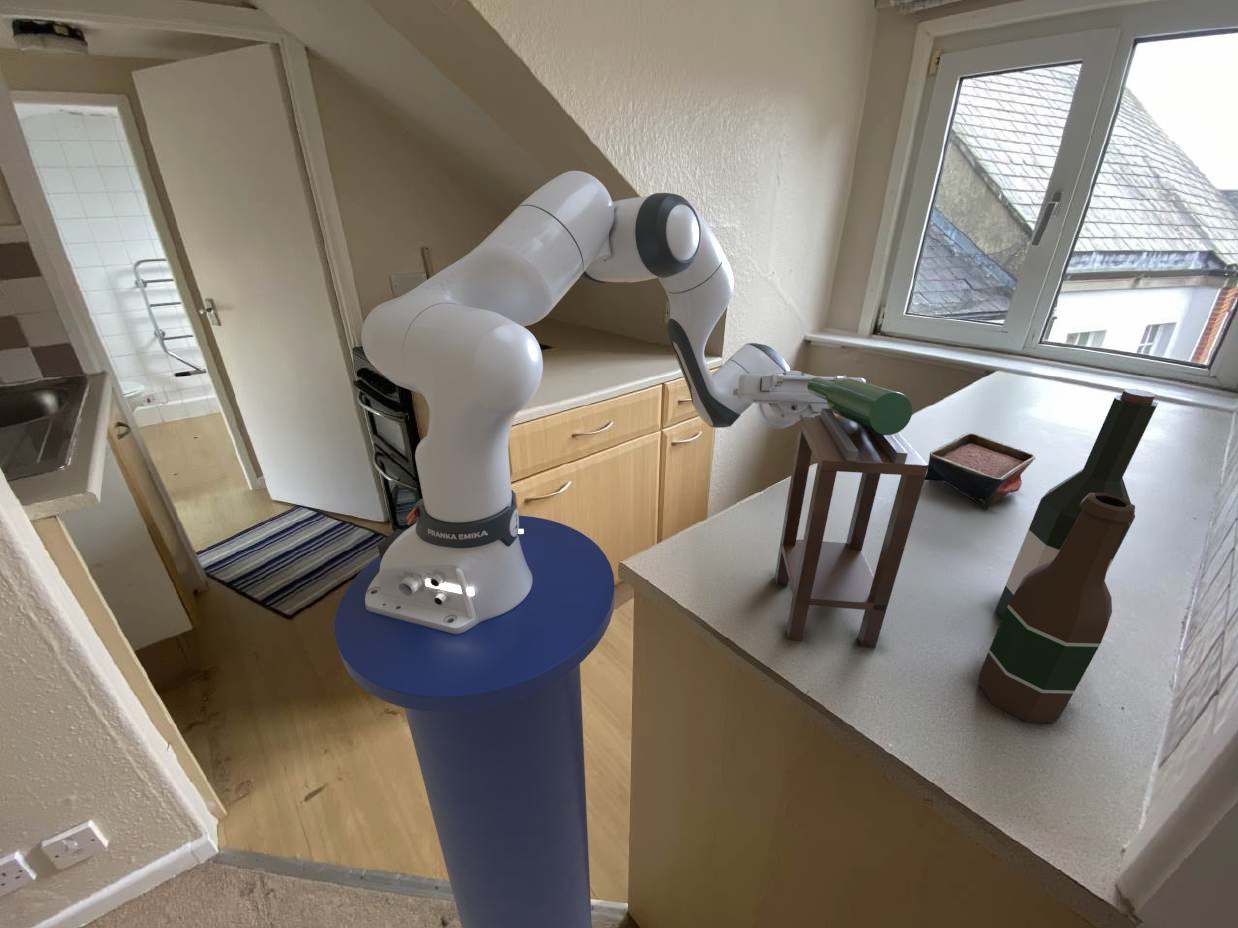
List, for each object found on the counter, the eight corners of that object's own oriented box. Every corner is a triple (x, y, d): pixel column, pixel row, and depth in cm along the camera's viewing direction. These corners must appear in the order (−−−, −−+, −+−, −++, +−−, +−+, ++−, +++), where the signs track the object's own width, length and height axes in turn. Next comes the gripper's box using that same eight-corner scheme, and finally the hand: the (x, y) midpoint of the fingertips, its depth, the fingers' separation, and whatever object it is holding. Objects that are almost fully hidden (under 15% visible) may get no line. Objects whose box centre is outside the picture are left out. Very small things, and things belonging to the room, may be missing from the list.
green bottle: (904, 438, 54) (918, 396, 52) (863, 431, 53) (877, 388, 52) (827, 404, 71) (836, 372, 70) (796, 399, 71) (804, 366, 70)
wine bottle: (1068, 611, 68) (1179, 387, 54) (1083, 656, 61) (1214, 412, 48) (991, 591, 71) (1078, 376, 58) (998, 632, 64) (1097, 398, 51)
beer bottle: (1052, 679, 58) (1150, 488, 47) (1073, 738, 52) (1192, 533, 41) (970, 657, 61) (1045, 472, 50) (980, 710, 54) (1069, 511, 44)
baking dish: (1031, 503, 96) (1050, 450, 93) (985, 517, 86) (1004, 459, 83) (949, 477, 107) (964, 429, 104) (900, 487, 98) (915, 435, 95)
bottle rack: (788, 639, 63) (824, 449, 52) (774, 576, 74) (802, 407, 63) (875, 647, 62) (932, 454, 51) (848, 582, 73) (890, 410, 62)
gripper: (732, 377, 96) (741, 357, 82) (849, 381, 93) (879, 361, 80) (730, 412, 95) (739, 397, 82) (848, 416, 93) (878, 402, 79)
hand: (809, 379), depth 81 cm, fingers open, 8 cm apart
